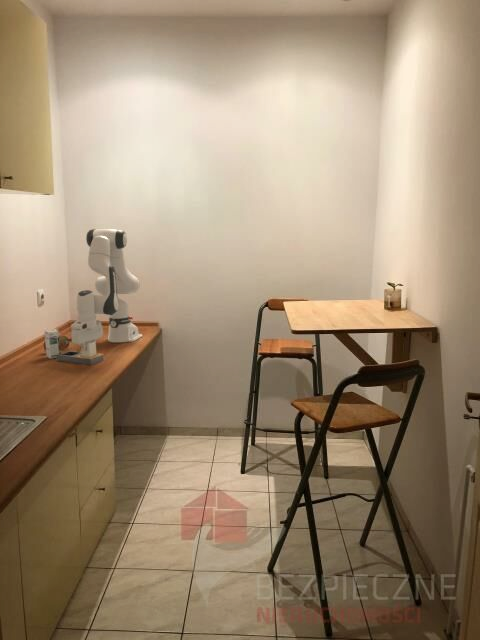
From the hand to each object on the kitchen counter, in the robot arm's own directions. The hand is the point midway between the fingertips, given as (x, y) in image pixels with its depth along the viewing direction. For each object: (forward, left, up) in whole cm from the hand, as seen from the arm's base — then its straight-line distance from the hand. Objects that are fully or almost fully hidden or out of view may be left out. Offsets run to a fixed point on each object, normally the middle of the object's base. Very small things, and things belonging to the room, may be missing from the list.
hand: (88, 349), depth 273 cm
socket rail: (0, -6, -6) cm, 9 cm away
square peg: (0, 0, -5) cm, 5 cm away
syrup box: (0, -24, -7) cm, 25 cm away
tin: (-10, -31, -7) cm, 33 cm away
